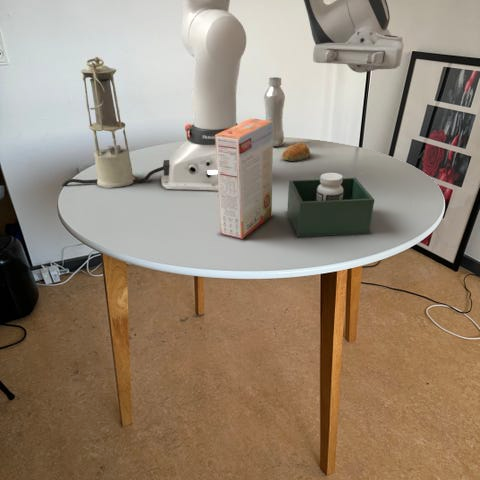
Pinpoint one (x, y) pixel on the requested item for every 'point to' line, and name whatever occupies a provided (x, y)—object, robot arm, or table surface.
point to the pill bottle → (330, 187)
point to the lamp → (107, 127)
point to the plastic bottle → (275, 109)
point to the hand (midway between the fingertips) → (348, 58)
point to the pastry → (296, 152)
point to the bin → (329, 209)
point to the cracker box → (244, 176)
